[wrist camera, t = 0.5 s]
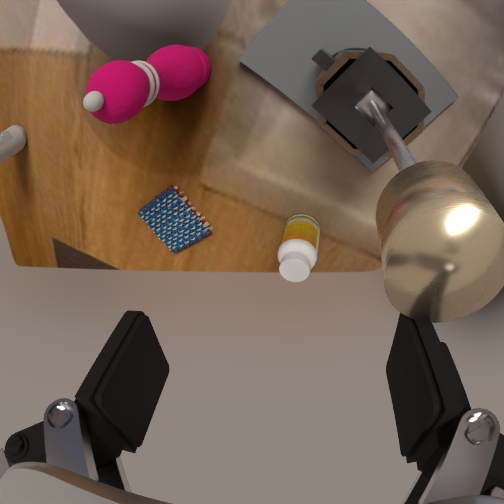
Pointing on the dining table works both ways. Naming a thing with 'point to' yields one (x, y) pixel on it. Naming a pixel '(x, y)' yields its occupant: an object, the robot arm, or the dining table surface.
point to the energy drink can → (11, 142)
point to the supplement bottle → (298, 247)
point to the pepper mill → (145, 82)
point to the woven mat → (174, 220)
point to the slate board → (335, 51)
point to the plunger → (434, 232)
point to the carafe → (355, 87)
